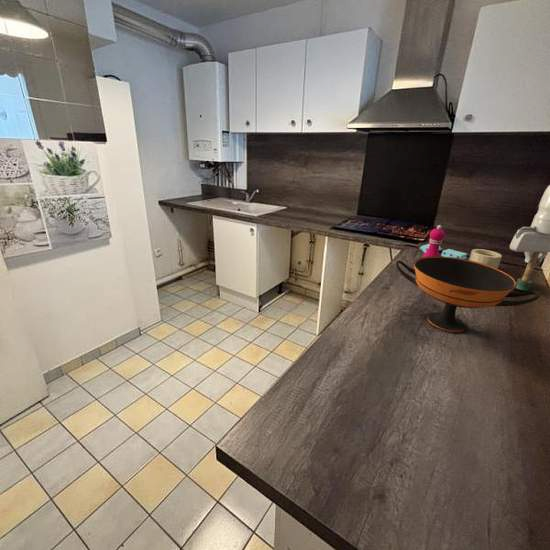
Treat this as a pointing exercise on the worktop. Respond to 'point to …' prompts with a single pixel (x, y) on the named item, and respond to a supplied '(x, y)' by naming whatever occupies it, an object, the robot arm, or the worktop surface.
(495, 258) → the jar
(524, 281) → the brush
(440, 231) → the pepper mill
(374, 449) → the worktop surface
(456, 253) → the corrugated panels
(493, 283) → the cup
